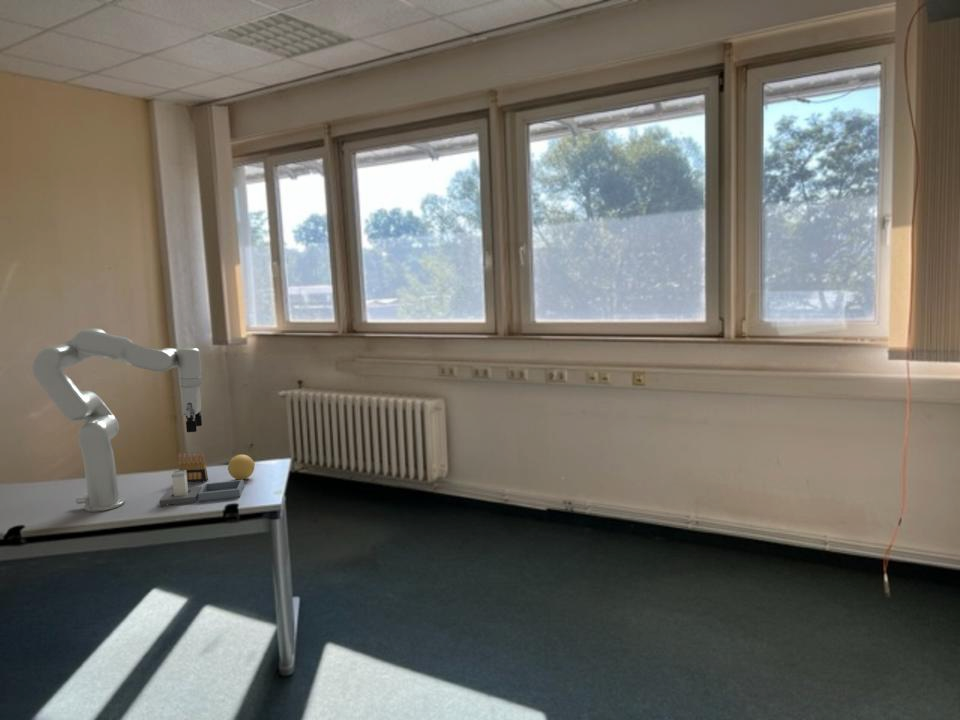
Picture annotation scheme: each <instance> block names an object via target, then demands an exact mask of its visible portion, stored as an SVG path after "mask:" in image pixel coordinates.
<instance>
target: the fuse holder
mask: <svg viewBox="0 0 960 720" xmlns="http://www.w3.org/2000/svg"><path fill="white" fill-rule="evenodd" d="M202 487H203V486H193V487H188V493H189V494H188V495H182V496H174V490H173V489H167V490H166V491H165V493H164V494H163V495H162V496H161V498H160V499H159V501H158V503H159V506H160V505H165V506H168V505H167V504H174V505H180V504H179V503H183V504H190V502H192V503H197V501H198V500H199V498H198V493H199V492H200V490H201V488H202ZM197 499H198V500H197Z"/></svg>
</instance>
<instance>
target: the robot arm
mask: <svg viewBox="0 0 960 720" xmlns="http://www.w3.org/2000/svg"><path fill="white" fill-rule="evenodd" d="M92 356H94V357H98V358H103V359H108V360H113V361H117V362H120V363H122V364H126V365H130V366H132V367H136V368H139V369H143V370H148V371H153V372H158V373H159V372H161V373H162V372H163V373H164V372H167V371H169V370H171V369H175V368H178V369H177V370H178V381H179V388H180V389H181V411H182V412H181V413H182V415H183V416H185V425H186V426H185V427H186V433H196V432H198V431H197V429H198V428H197V427H202V425H203V421H202V420H203V419H202V412H201V411H202V396H201V388H200V387H202V386H203V374H202V363H201V351H200V349H199V348H197V347H184V348H176V347H175V348H173V347H165V348H162V349H155V348H150V347H145V346H142V345H139V344H137V343H134V342H133V341H132V340H131V339H130V338H127V337H124V336H120V335H115V334H110V333H107V331H105V330H103V329H101V328H99V327H98V328H97V327H96V328H95V327H93V328H87V329H82V330H80V331H78V332H77V333H76V334H75V335H74V337H73V338H71V339H69V340H67V341H65V342H63V343H60V344H55V345H50V346H48V347H45V348H43V349H42V350H40V351H39V352H38V353H37V355H36V356H35V358H34V360H33V363H32V374H33V376H34V378H35V380H36V382H37V383H38V385H40V387H41V388H42V389H43V390H44V392H45V393H46V394H47V395H48V397H49V398H50V399H51V401H52V402H53V403H54V405H55V406H56V408H57V409H58V411H60V412H61V413H62V415H63V416H64V417H65V419H67V420H69V421H71V422H79V421H83V424H82V425H81V426H80V428H79V430H78V433H77V440H78V443H79V447H80V450H81V455H82V462H83V468H84V475H85V476H84V477H85V482H86V483H85V484H86V490H87V491H86V492H87V495H85V496H78V497H75V503H76V504H77V505H81V504H82V505H83V504H84V505H83V509H84V511H85V512H90V513H96V512H103V511H109V510H113V509H116V508H118V507H121V506H123V505H124V504H125V498H123V497H121V496H119V485H118V478H117V470H116V462H115V461H116V460H115V453H114V449H113V446H112V443H111V440H112V439H113V438H115V437H116V436H117V435H118V433H119V431H120V423H119V421H118V419H117V418H116V416H115V414H113V412H112V411H111V410H110V409H109V407H108V406H107V404H106V403H105V402H104V401H103V400H102V398H101V397H100V396H99V395H97V393H95V392H93V391H91V390H80V388H79V387H77V385H76V384H75V383H74V381H73V380H72V379H71V378H70V377H69V376H67V374H65V373H64V372H63V370H64V369H66V368H71V367H73V366H76V365H78V364H79V363H80V362H83V361H85V360H87V359H89V358H91V357H92Z"/></svg>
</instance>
